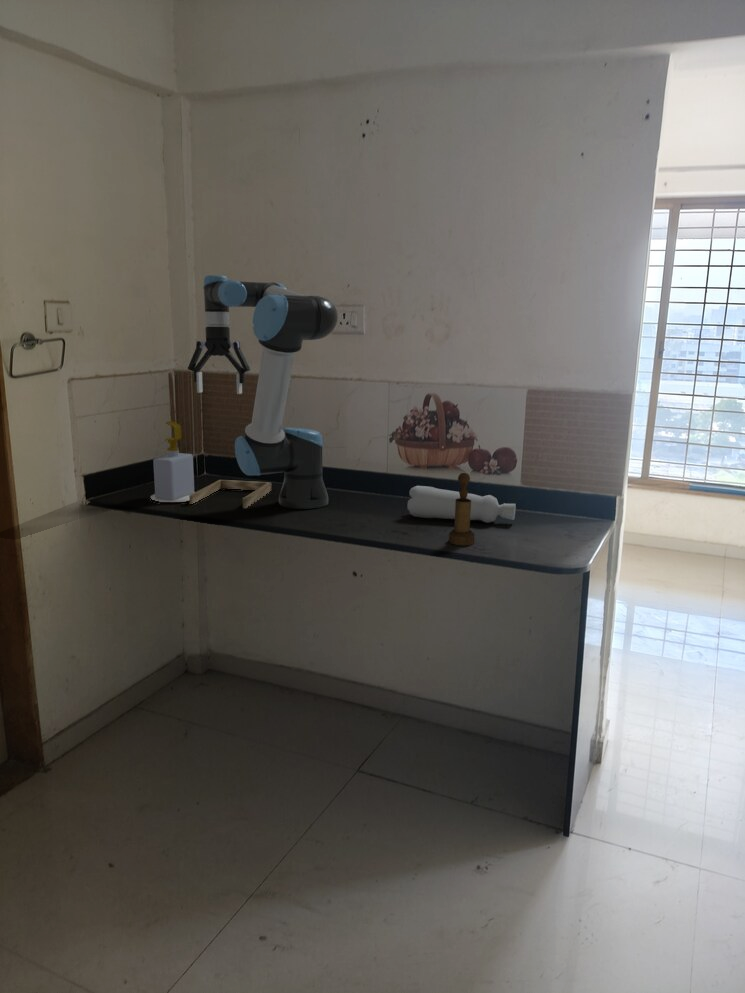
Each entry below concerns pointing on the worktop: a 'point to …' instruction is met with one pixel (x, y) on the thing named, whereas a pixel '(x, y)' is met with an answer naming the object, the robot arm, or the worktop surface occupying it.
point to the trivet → (181, 499)
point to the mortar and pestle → (462, 516)
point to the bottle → (443, 505)
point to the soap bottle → (173, 470)
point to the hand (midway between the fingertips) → (219, 393)
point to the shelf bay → (259, 488)
